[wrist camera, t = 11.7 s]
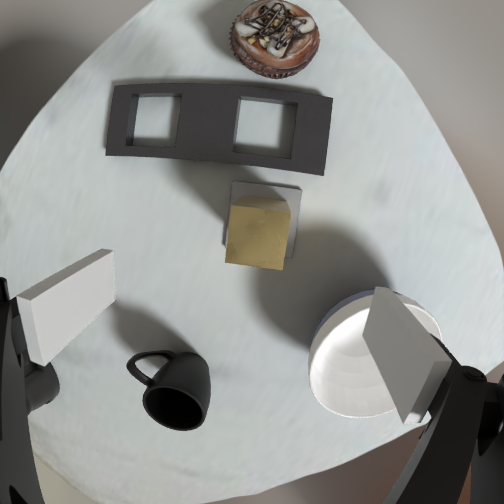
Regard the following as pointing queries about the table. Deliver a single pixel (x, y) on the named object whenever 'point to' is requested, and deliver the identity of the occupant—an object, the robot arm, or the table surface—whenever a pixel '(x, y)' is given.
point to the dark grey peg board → (221, 124)
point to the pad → (271, 193)
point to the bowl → (353, 358)
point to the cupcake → (274, 38)
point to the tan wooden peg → (258, 232)
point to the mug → (175, 389)
